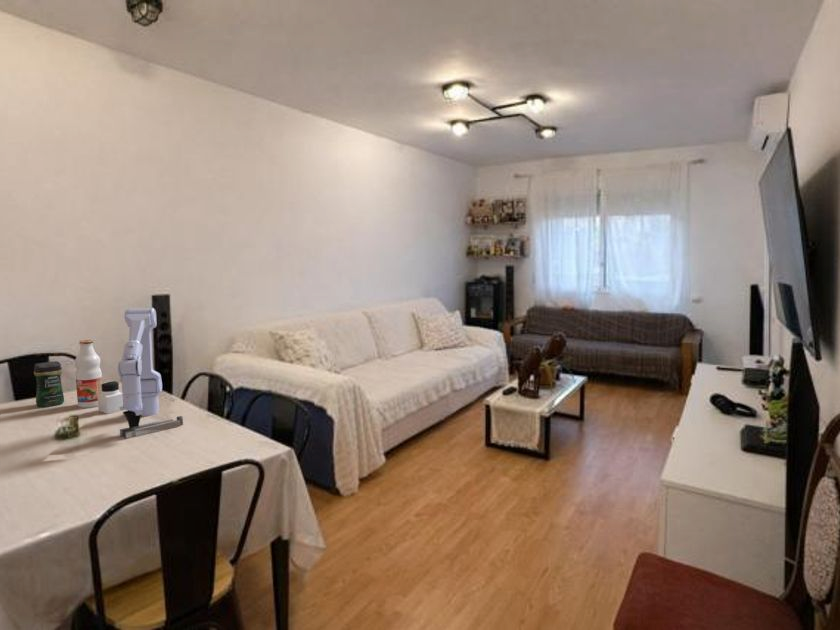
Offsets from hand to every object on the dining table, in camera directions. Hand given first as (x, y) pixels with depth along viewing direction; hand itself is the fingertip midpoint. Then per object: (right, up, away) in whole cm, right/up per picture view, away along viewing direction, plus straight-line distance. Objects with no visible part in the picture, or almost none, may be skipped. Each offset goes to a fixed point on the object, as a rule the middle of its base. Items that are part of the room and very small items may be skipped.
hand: (134, 430), depth 177 cm
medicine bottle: (-26, +1, +30) cm, 40 cm away
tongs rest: (+4, -2, +4) cm, 6 cm away
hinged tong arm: (+4, -1, +2) cm, 4 cm away
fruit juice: (-40, +2, +38) cm, 55 cm away
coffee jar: (-58, +2, +38) cm, 69 cm away
